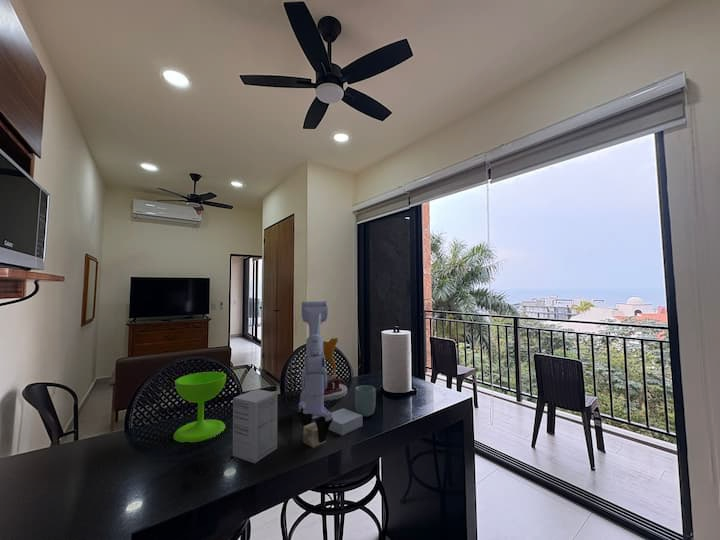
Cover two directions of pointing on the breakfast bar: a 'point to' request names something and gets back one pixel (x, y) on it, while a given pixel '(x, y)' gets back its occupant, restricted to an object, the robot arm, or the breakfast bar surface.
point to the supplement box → (254, 425)
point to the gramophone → (333, 386)
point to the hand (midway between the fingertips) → (314, 437)
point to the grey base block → (345, 421)
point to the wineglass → (200, 404)
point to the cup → (365, 400)
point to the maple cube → (311, 435)
